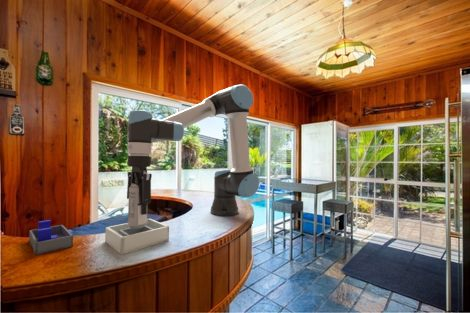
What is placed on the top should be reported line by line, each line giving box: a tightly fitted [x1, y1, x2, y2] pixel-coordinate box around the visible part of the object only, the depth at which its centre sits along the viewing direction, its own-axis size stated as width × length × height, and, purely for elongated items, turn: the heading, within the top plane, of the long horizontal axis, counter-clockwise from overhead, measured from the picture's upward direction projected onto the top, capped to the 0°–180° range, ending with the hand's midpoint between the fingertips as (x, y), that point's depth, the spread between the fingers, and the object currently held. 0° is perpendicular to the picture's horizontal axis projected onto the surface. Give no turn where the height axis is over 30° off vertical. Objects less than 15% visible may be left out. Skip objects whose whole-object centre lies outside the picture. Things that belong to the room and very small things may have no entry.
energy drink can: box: [127, 183, 147, 229], centre depth 77 cm, size 6×6×15 cm
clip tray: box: [28, 224, 74, 256], centre depth 73 cm, size 9×16×4 cm, turn 48°
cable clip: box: [37, 219, 57, 242], centre depth 72 cm, size 12×4×6 cm, turn 41°
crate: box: [104, 218, 170, 255], centre depth 77 cm, size 16×14×5 cm
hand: (137, 221), depth 77 cm, fingers closed on energy drink can, 6 cm apart
